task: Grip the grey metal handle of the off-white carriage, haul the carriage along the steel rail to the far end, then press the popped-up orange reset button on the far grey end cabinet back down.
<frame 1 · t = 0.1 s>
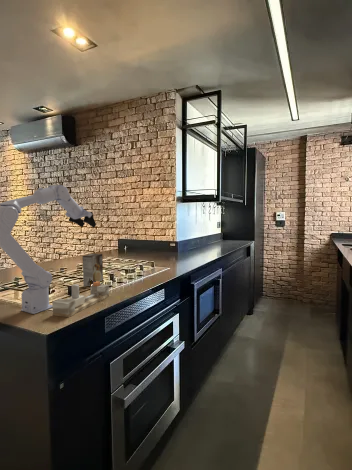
hand: (88, 225, 139), 32 cm above the worktop, tool tilted 50°, fingers open, 7 cm apart
rail base: (83, 304, 123), on the worktop
reset button: (96, 285, 134), point 5 cm above the worktop, slide at 0.0 cm
coffee box: (93, 285, 155), on the worktop
carriage: (75, 295, 118), point 6 cm above the worktop, slide at -5.0 cm
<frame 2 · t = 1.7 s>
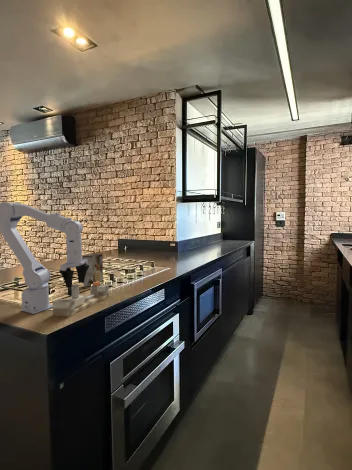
hand: (75, 284, 117), 10 cm above the worktop, tool pointing down, fingers open, 7 cm apart
nothing on the worktop moved.
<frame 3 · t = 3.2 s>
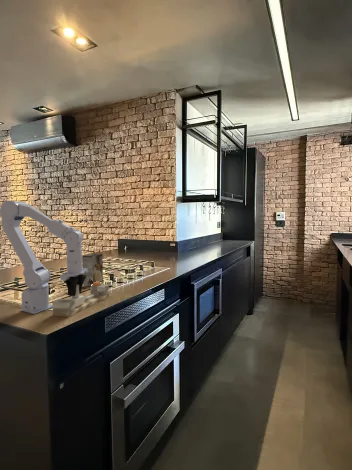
hand: (75, 294, 118), 6 cm above the worktop, tool pointing down, fingers closed on carriage, 3 cm apart
carriage: (75, 295, 118), point 6 cm above the worktop, slide at -5.0 cm, touching gripper
everything else where it was.
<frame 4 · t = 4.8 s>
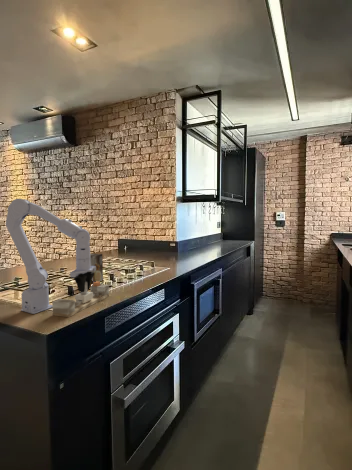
hand: (84, 290, 123), 6 cm above the worktop, tool pointing down, fingers closed on carriage, 3 cm apart
carriage: (84, 291, 123), point 6 cm above the worktop, slide at 0.6 cm, touching gripper
everything else where it was.
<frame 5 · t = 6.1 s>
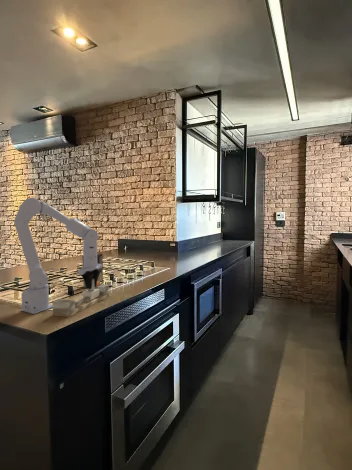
hand: (91, 287, 128), 6 cm above the worktop, tool pointing down, fingers closed on carriage, 3 cm apart
carriage: (91, 288, 128), point 6 cm above the worktop, slide at 5.5 cm, touching gripper
everything else where it was.
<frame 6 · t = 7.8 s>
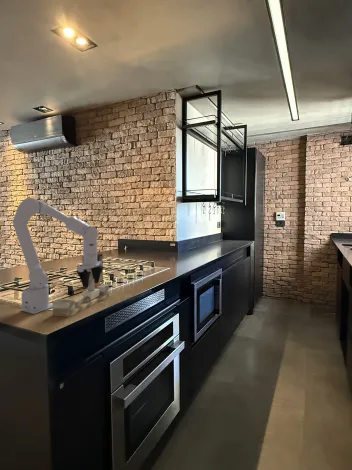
hand: (90, 285, 127), 7 cm above the worktop, tool pointing down, fingers open, 7 cm apart
carriage: (91, 288, 128), point 6 cm above the worktop, slide at 5.5 cm
everything else where it was.
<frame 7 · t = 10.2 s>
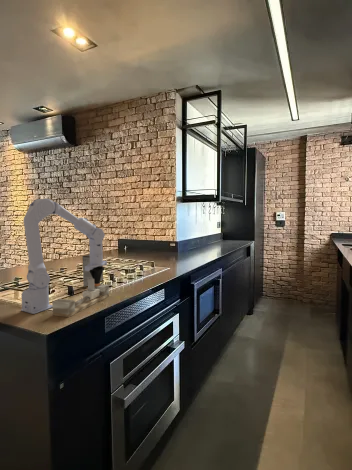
hand: (96, 283, 134), 6 cm above the worktop, tool pointing down, fingers closed, pressing on reset button
reset button: (96, 286, 134), point 5 cm above the worktop, slide at 0.6 cm, touching gripper
everything else where it was.
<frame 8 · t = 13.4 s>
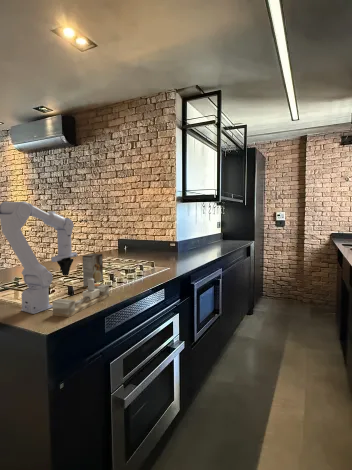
hand: (65, 275, 131), 10 cm above the worktop, tool pointing down, fingers closed
reset button: (96, 287, 134), point 4 cm above the worktop, slide at 1.2 cm
everything else where it was.
at the end: carriage slide at 5.5 cm; reset button slide at 1.2 cm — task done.
